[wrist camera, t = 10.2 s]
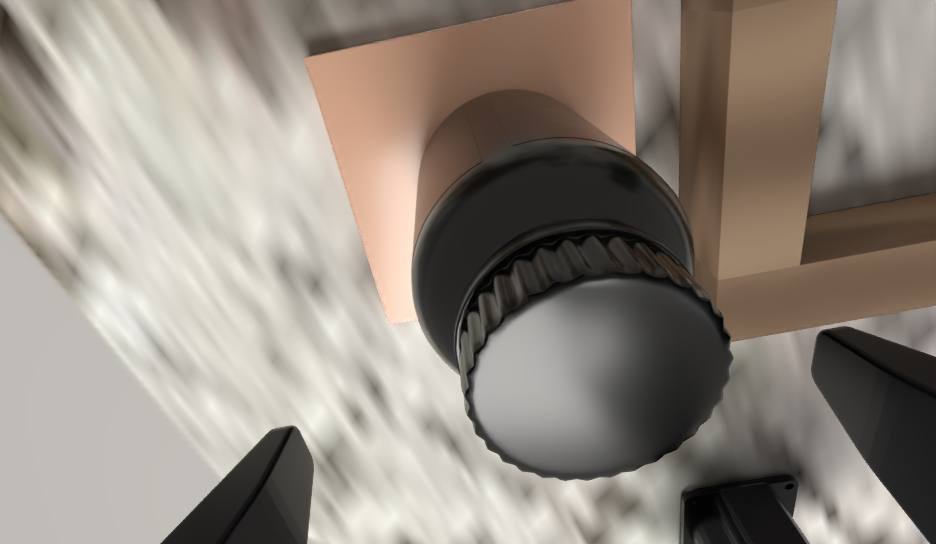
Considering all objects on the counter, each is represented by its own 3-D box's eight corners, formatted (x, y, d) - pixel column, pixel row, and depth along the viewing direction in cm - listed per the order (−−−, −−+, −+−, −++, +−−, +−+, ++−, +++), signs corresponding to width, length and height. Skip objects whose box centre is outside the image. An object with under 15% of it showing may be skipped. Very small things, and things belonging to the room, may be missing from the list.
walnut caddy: (1015, 237, 23) (1105, 274, 20) (678, 299, 23) (714, 344, 20) (1172, -201, 16) (1354, -251, 12) (682, -94, 16) (739, -117, 13)
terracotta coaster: (633, 269, 22) (639, 278, 22) (390, 314, 23) (388, 325, 22) (622, -11, 17) (630, -11, 17) (309, 56, 18) (304, 58, 17)
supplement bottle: (524, 287, 22) (605, 560, 11) (385, 202, 20) (321, 438, 9) (636, 155, 19) (876, 345, 9) (490, 41, 17) (573, 108, 7)
